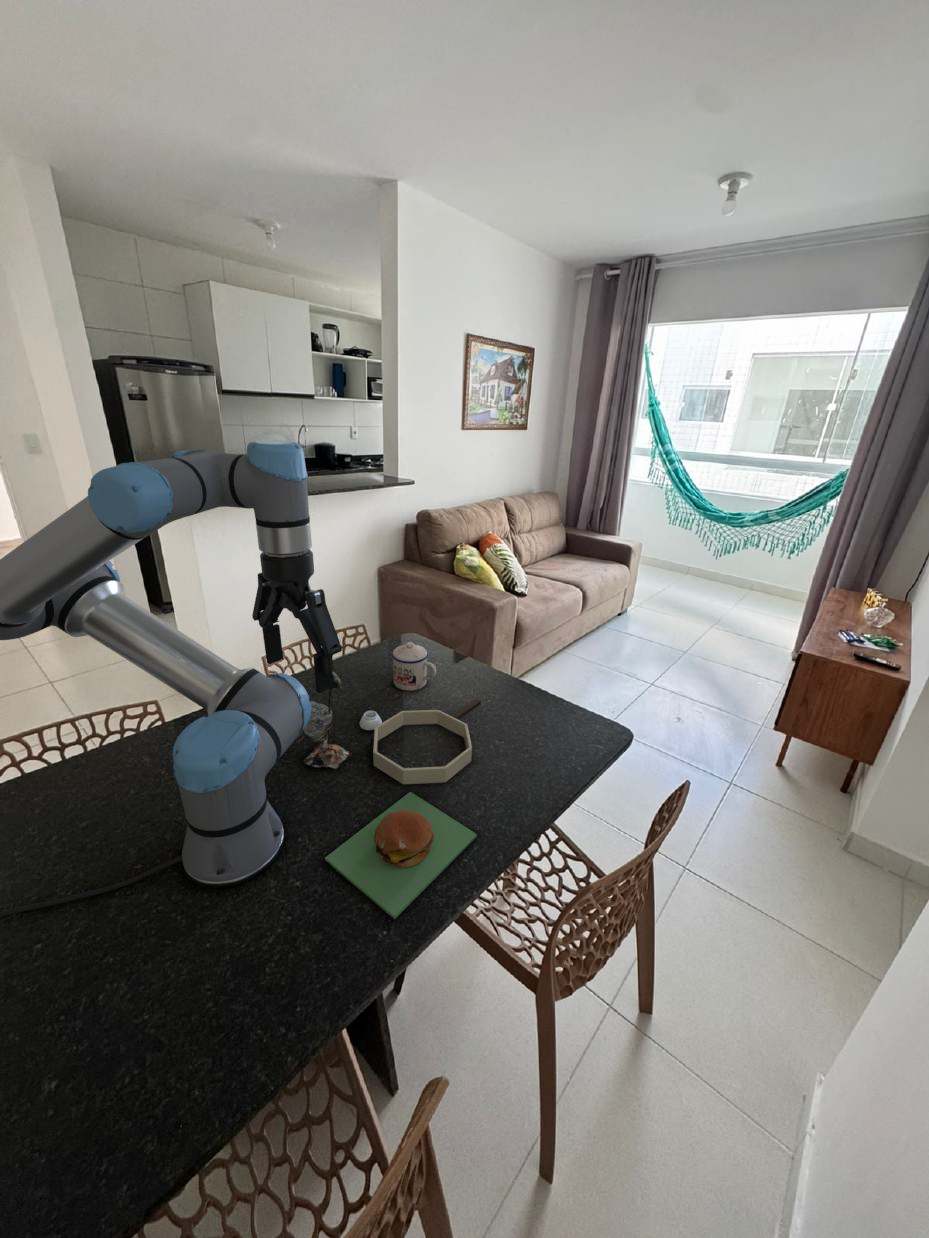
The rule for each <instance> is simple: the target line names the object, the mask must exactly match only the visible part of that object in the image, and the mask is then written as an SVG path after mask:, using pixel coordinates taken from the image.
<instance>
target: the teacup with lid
mask: <svg viewBox="0 0 929 1238" xmlns="http://www.w3.org/2000/svg"><path fill="white" fill-rule="evenodd" d="M391 656H392V661H393V662H392V663H393V665H392V667H393V669H392V670H393V684H394V686H395V688H397V689H399V690H402V691H408V692H409V691H417V690H421V689H422V688H423V687H425V686H426V685H427V681H430V680H433V679H434V678H435V677H436V675H437V666H435V664H434V663H432V662H429V661H428V656H429V653H428V651H427V649H426V648H425V647H423V646H422V645H418V644H415V643H414V642H413V641H407V642H406V644H402V645H399V646H397V647H396V648H394V649H393V651H392V654H391ZM428 668H431V670H432V673H431V674H432V675H427V673H428V671H427V669H428Z"/></svg>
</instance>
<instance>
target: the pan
mask: <svg viewBox="0 0 929 1238" xmlns="http://www.w3.org/2000/svg"><path fill="white" fill-rule="evenodd" d="M481 704H482V701H481V700H480V699H478V698H474V699H472V701H469V702H468V703H467V704H465V705H464V706H462V707H461V708H460V709H458V710H457V711H455V712H453V713H452V714H451V715H450V714H448V713H446V712H444V711H442V710H440V709H422V710H420V709H419V710H418V709H417V710H401V711H400V712H397V713H396V714H395V715H393V716H391V717H390V718H388V719H387V720H384V721H382V723H381V724H380V725H378V726H376V727H375V730H374V733H373V734H374V735H373V748H372V749H373V750H372V756H373V757H372V759H373V766H374V767H375V768H377V769H379V770H380V771H381V772H383V773H384V774H386V775H388V776H389V777H391V778H393V779H394V780H396V781H397V782H399V783H400V784H402V785H419V784H438V783H439V784H441V783H447V782H448V781H449V780H451V778H453V777H454V776H455V775H456V774H458V773H459V772H460V771H461V770H463V769H464V768H465V767H466V766H468V765H469V764H470V763H471V762H472V755H473V754H472V753H473V746H472V741H471V737H470V731H469V727H468V723H465V722H464V721H461V719H463V718H464V717H465V716H466V715H468V714H469V713H471V712H472V711H473V710H475V709H476V708H478V707H480V706H481ZM413 725H414V726H416V725H439V726H441V727H442V728H445V729H446V730H448V731H451V732H452V733H454V734H456V735H457V736H460V737H462V738H463V740H464V745H465V750H464V751H462V752H461V753H460V754H459V755H457V756H456V757H455V758H453V759H452V760H451V761H449V762H448V763H447V764H446V765H443V766H426V767H425V766H424V767H423V766H422V767H403V766H401V765H399V764H397V763H396V762H395V761H393V760H391V759H390V758H388V757H386V756H385V755H383V754H382V753H380V752H379V751H378V747H379V741H380V740H382V739H383V738H385V737H387V736H389V734H391V733H393V732H395V731H396V730H398V729H399V728H401V727H403V726H413Z"/></svg>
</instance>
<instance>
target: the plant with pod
mask: <svg viewBox="0 0 929 1238" xmlns="http://www.w3.org/2000/svg"><path fill="white" fill-rule="evenodd" d="M332 676H333V687H331V688H329V689H328V706H327V705H326V704H323V703H320V702H317V701H314V700H309V701H310V703H311V716H310V719H309V721H308V723H307V724H306V726H305V727H304V729H303V731H302V733H301V735H302V736H301V738H300V739H299V740H297V744H301V743H302V742H303V741H304V740H305V739H306V738H309V740H311V741H312V742H313V743H318V744H317V745H315V747H314V748H313V750H312V751H311V752H310V754H308V756H307V757H306V758H304V760H303V763H304V765H308V766H311V767H314V768H322V767H324V768H328V767H329V768H331V769H334V770H336V769H338V768H340V766H342V764H343V763H345V760H346V759H348V758H349V757H351V756H352V755H353V753H352V751H351V750H348V749H347V750H346V749H345V748H343V747H342V746H340V745H337V744H334V743H333V744H332V743H331V744H330V734H331V732H332V729H333V719H334V714H333V710H332V709H331V698H332V692H333V691H332V690H333V689H334V688H336V689H339V690H340V691H341V692H342V691H344V689H343V688H342V686H341V685H342V680H341V678H339V676H338V675H337V673H335V672H334V671H333V672H332ZM311 699H313V697H312V696H311Z"/></svg>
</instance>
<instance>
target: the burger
mask: <svg viewBox="0 0 929 1238" xmlns="http://www.w3.org/2000/svg"><path fill="white" fill-rule="evenodd" d="M433 839H434V835H433V831H432V829H431V825H430V823H429V821H428V820H427V819H426V818H425V817H424V816H423V815H421V814H419V813H417V812H414V811H410V810H398V811H394V812H391V813H389V814H388V815H386V816H385V817H384V818H383V819H382V820H381V822H380V823H379V825H378V827H377V828H376V831H375V835H374V842H375V844H376V852H377V853H380V854H381V857H382V860H383V861H384V862H386V863H389V864H395V865H398V866H399V867H401V868H410V867H413V866H416V865H418V864H419V863H420V862H422V861H423V860H424V859H425V858H426V856H427V855H428V854H429V852H430V849H431V847H432V843H433V841H434V840H433Z"/></svg>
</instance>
